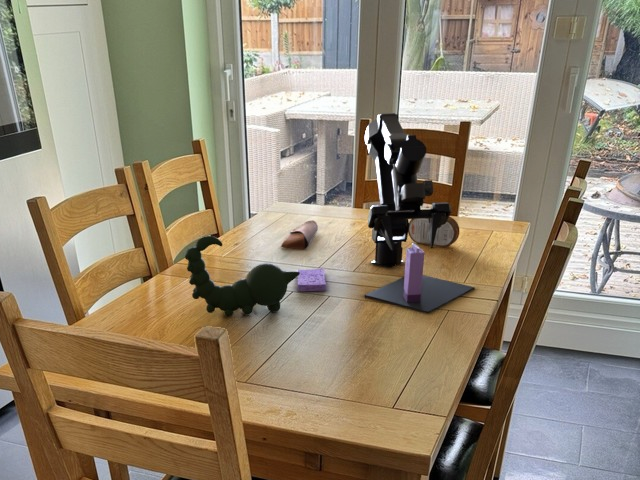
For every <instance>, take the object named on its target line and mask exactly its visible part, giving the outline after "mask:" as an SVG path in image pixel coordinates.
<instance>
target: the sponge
mask: <svg viewBox="0 0 640 480" xmlns="http://www.w3.org/2000/svg"><path fill="white" fill-rule="evenodd" d="M297 272H300V274H299V275H298V276H297V291H299V292H324V291H326V287H327V286H326V284H327V283H326V275H325V274H326V273H325V268H313V269H297Z"/></svg>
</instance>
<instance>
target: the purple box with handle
mask: <svg viewBox="0 0 640 480" xmlns="http://www.w3.org/2000/svg"><path fill="white" fill-rule="evenodd" d="M425 255H426V254H425V251H424V250H423V249H422V248H421V247H419V246H418V245H417V243H416V242H412V243H411V247H406V253H405V264H404V265H405V266H404V276H403V277H404V290H403V297H404V298H405V300H406V302H420V300H421V288H422V277H423V275H424V264H425Z"/></svg>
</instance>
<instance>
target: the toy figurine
mask: <svg viewBox="0 0 640 480" xmlns="http://www.w3.org/2000/svg"><path fill="white" fill-rule="evenodd" d="M212 245H215V246H219V247H223V242H222V241H221V240H220V239H219V238H217V237H216V236H213V235H205V236H202V237H200V238H199V239H197V241H196V244H195V246H191V247H189V248H188V249H187V250H186V251H185V255H184V258H185V260H186V261H188V262H187V267H186V270H187V272H188V273H189V272H190V273H191V274H190V279H189V281H188V282H189V285H191V286H195V287H194V288H193V290H192V294H191V296H192V298H193V299H194V300H198V299H200V298H201V299H204V301H205V303H206V304H207V305H206V307H205V308H206V309H205V310H206V312H207V313H210V314H212V313H214V312H215V311H216V309H219V310H221V311H222V312H223V314H224V316H226V317H227V318H228V317H229V318H230V317H232V316H233V315H234V312H236V311H238V309H239V310H240V309H241V311H242V313H243V314H244V315H249V316H250V314H252V313H253V311H254V307H255V306H256V305H258V306H261V307H267V310H268V311H269V312H270V313H277V312H279V311H280V309H281V301H282V300H283V298H284V297H285V295H286V293H287V291H288V285H289V284H290V283H291V282H292V281H294V280H295V279H296V278H298V275H299V274H300V272H298V271H293V270H292V271H288V270H287V271H286V270H283V269H282V268H280V267H279V266H278V265H276V264H274V263H270V262H264V263H260V264H258V265H255V266H254V267H253V268H251V269H250V271H248V273H249V274H248V273H247V274H248V276H247V278H246V277H245V278H246V279H245V278H240V279H238V280H236V281H235V282H234V283H233V284H223V285H222V286H220V285H217V284H215V282H214V280H212V279H211V276H210V273H209V271H208V270H207V269H206V261H205V260H204V259H203V258H202V256H203V255H202V252H203V251H205V250H206V249H207V248H208V247H210V246H212Z"/></svg>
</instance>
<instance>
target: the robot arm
mask: <svg viewBox="0 0 640 480" xmlns="http://www.w3.org/2000/svg"><path fill="white" fill-rule="evenodd" d="M399 118H400V117H399V114H398V113H396V112H388V113H387V112H385V113H380V114H378V115H377V117H376V119H374V120H373V121H371V122H370V123H368V124H367V127H366V130H365V134H364V142H365V143H364V144H365V145H366V146H367V152H368V155H369V156H370V157H371V158H372V159H373V160H374V162H375V167H376V168H375V169H376V177H377V186H378V196H379V204H375V205H373V204H372V205H371V207H370V208H369V211H368V215H367V228H368V229H372V230H371V239H372V241H373V243H374V244H375V252H374V260H372V261H371V262H370V263H371V264H372V265H374V266H379V267H383V268H388V269H392V268H394V267H397V266H399V265H402V264H404V261H405V260H403V252H404V251H403V247H402V245H403V243H407V241H408V236H409V234H408V230H409V227H410V223H409V222H410V220H411V219H423V218H428V221H429V223H430V224H429V226H428V232H429V244H430V245H429V249H433V248H434V246H433V245H434V241H435V236H436V232H437V228H440V227H441V226H442V225H444V224H446V222H447V220H448V218H449V217H451V214H452V206H451V204H450V203H449V202H448V201H446V202H445V201H444V202H443V201H441V202H433V203H432V205H431V207H430V209H429V208H427V209H426V208H425V209H423V208H422V209H421V207H423V205H424V203H425V202H424V200H425V199H426V197H431V196H432V195H433V194H434V184H433V183H434V182H433V180H432V179H426V180H424V181H423V182H418V175H417V174H418V173H419V172H420V170H421V168H422V166H423V162H424V160H425V157H426V154H427V147H426V145H425V143H424V142H423V141H422V140H420V139H418V138H417V134H408V133H405V130H404V129H403V126H402V125H401V123H400V120H399ZM394 165H395V166H394Z"/></svg>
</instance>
